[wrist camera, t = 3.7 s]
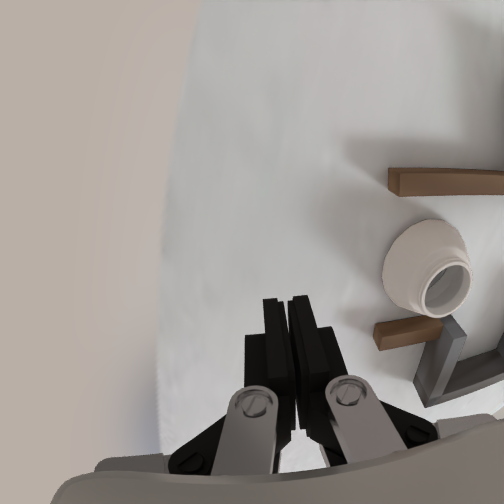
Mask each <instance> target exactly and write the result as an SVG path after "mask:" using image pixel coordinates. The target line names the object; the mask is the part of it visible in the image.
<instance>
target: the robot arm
mask: <svg viewBox="0 0 504 504" xmlns="http://www.w3.org/2000/svg"><path fill="white" fill-rule="evenodd" d="M263 309H264V323H265V334H253V335H245V367H244V388H242V389H240V390H239V391H237V392H236V393H235V394H234V395H233V396H232V398H231V400H230V402H229V406H228V410H227V414H226V415H225V416H223V417H222V418H221V419H219V420H218V421H217V422H215V423H214V424H213V425H211V426H210V427H209V428H207V429H206V430H204V431H203V432H202V433H200V434H199V435H197V436H196V437H195V438H193V439H192V440H190V441H189V442H188V443H186V444H185V445H183V446H182V447H180V448H179V449H177V450H176V451H175V452H174V453H173V454H172V455H165V456H164V455H163V453H159V454H150V455H140V456H128V457H112V458H106V459H104V460H102V461H100V462H99V463H98V464H97V466H96V467H95V470H94V472H92V473H88V474H82V475H79V476H76V477H73V478H71V479H69V480H67V481H65V482H64V483H63V484H62V485H61V486H60V488H59V489H58V490H57V492H56V493H55V495H54V497H53V499H52V501H51V503H50V504H504V419H499V420H497V419H496V418H495V417H493V416H492V415H490V414H476V415H470V416H464V417H456V418H449V419H440V420H437V421H436V423H431V422H429V421H427V420H426V419H423V418H421V417H418V416H416V415H413V414H411V413H408V412H406V411H404V410H401V409H399V408H397V407H394V406H392V405H390V404H387V403H385V402H383V401H380V400H379V399H378V398H377V396H376V394H375V393H374V391H373V389H372V387H371V386H370V385H369V383H368V382H367V381H366V380H364V379H363V378H361V377H358V376H355V375H348V372H347V369H346V366H345V363H344V360H343V357H342V354H341V351H340V348H339V346H338V343H337V340H336V337H335V334H334V331H333V329H332V327H331V326H330V327H322V328H317V325H316V322H315V318H314V315H313V311H312V308H311V305H310V301H309V298H308V295H302V296H293V300H291V301H288V325H289V332H288V326H287V320H286V314H285V308H284V303H283V301H280V302H278V300H277V298H271V299H263ZM296 404H297V411H298V418H299V425H300V429H306V434H307V437H310V439H312V440H314V441H315V442H317V443H319V447H320V451H321V454H322V456H323V459H324V462H325V464H326V467H327V468H321V469H314V470H307V471H298V472H289V473H279V471H280V462H281V450H282V449H283V448H284V447H285V446H286V445H287V444H288V443H289V442H290V441H291V430H295V429H296Z"/></svg>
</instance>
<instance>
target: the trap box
mask: <svg viewBox="0 0 504 504" xmlns="http://www.w3.org/2000/svg"><path fill="white" fill-rule="evenodd" d="M388 190H390V191H391V192H393V193H394V194H396V195H397V196H399V197H410V196H446V195H504V171H494V170H476V169H452V168H389V175H388ZM466 337H467V335H466V334H465V332H464V331H463V330H462V328H461V327H460V326H459V324H458V323H457V322H456V320H455V319H454V318H453V317H452V315H451V314H449V315H447V316H445V317H441V318H433V317H429V316H427V315H423V316H418V317H412V318H407V319H401V320H395V321H389V322H383V323H377V324H375V328H374V334H373V338H374V341H375V343H376V345H377V347H378V349H379V351H382V350H388V349H393V348H398V347H403V346H408V345H413V344H417V343H422V342H426V341H427V342H426V346H425V349H424V352H423V355H422V358H421V361H420V364H419V367H418V370H417V372H416V375H415V378H414V381H413V384H414V386H415V388H416V390H417V392H418V395H419V397H420V399H421V401H422V403H423V405H424V408H427V407H430V406H434V405H437V404H440V403H443V402H446V401H449V400H452V399H455V398H458V397H461V396H464V395H466V394H469V393H472V392H474V391H477V390H480V389H482V388H485V387H487V386H490V385H492V384H494V383H497V382H499V381H501V380H504V333H503V336H502V338H501V340H500V343H499V345H498V347H497V349H495V350H493V351H490V352H487V353H484V354H481V355H478V356H475V357H472V358H469V359H466V360H462V361H459V362H457V360H458V358H459V355H460V353H461V350H462V348H463V345H464V343H465V340H466Z"/></svg>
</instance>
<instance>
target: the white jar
mask: <svg viewBox="0 0 504 504" xmlns="http://www.w3.org/2000/svg"><path fill="white" fill-rule="evenodd" d="M445 268H447V269H446V271H445V272H444V274H443V276H442V277H441V279H440V280H439V281H438V282H437V283H435V284H434V285H433V286H432V287H431V288H429V289H427V288H428V286H429V284H430V283H431V281H432V280H433V278H434V277H435V276H436V275H437V274H438V273H439V272H441V271H442V270H443V269H445ZM382 280H383V285H384V289H385V292H386V294H387V295H388V296H389V298H390V299H391V300H392V301H393V302H394V303H395V305H396V306H399V307H402V308H405V309H407V310H410V311H413V312H417V313H420V314H423V315H427V316H429V317H433V318H441V317H445V316H447V315H449V314H451V313H453V312H454V311H456V310H457V309H458V308H459V307H460V306H461V305H462V304H463V303H464V301H465V300H466V298H467V297H468V295H469V293H470V290H471V288H472V283H473V274H472V270H471V268H470V260H469V257H468V253H467V249H466V246H465V243H464V241H463V239H462V237H461V235H460V233H459V231H458V230H457V229H456V228H454V227H453V226H451V225H449V224H448V223H446V222H445V221H443V220H429V219H426V220H424V221H422V222H419V223H417V224H415V225H412V226H410V227H409V228H408V229H407V230H405V231H404V232H403V233H402V234H401V235H400V236H399V237H398V238H397V239H396V240H395V241H394V243H393V245H392V246H391V248H390V250H389V252H388V253H387V255H386V257H385V261H384V266H383V271H382Z"/></svg>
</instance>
